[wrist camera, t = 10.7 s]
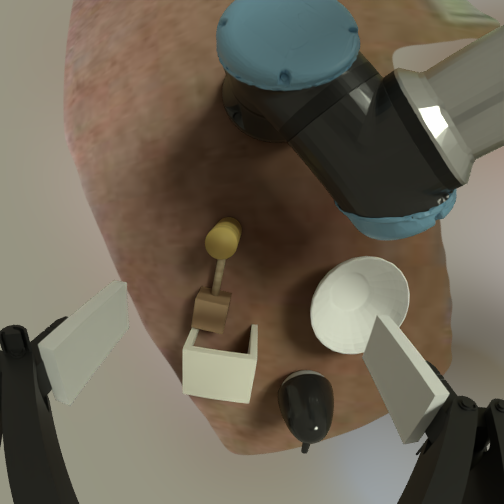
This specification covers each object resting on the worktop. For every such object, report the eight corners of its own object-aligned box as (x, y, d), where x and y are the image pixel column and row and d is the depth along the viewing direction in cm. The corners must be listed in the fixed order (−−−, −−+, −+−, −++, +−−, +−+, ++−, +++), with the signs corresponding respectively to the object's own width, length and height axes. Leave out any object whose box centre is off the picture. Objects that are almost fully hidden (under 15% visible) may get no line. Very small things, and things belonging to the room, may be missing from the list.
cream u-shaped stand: (196, 316, 48) (182, 349, 38) (257, 325, 48) (257, 360, 38) (194, 357, 50) (182, 393, 40) (250, 365, 50) (248, 403, 41)
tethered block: (215, 214, 43) (204, 223, 35) (247, 221, 44) (244, 232, 35) (197, 312, 48) (185, 340, 39) (226, 319, 48) (219, 348, 39)
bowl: (286, 276, 46) (290, 294, 39) (371, 227, 43) (389, 236, 36) (327, 347, 49) (336, 370, 42) (403, 303, 47) (420, 320, 40)
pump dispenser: (272, 398, 53) (274, 457, 38) (282, 359, 50) (288, 419, 35) (320, 401, 53) (333, 457, 38) (334, 363, 50) (354, 419, 35)
